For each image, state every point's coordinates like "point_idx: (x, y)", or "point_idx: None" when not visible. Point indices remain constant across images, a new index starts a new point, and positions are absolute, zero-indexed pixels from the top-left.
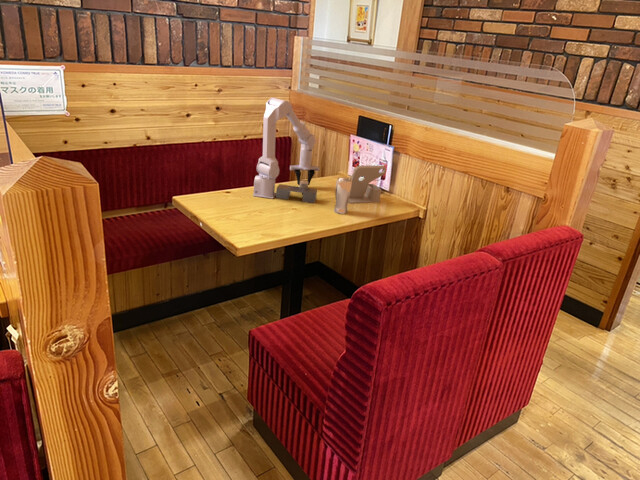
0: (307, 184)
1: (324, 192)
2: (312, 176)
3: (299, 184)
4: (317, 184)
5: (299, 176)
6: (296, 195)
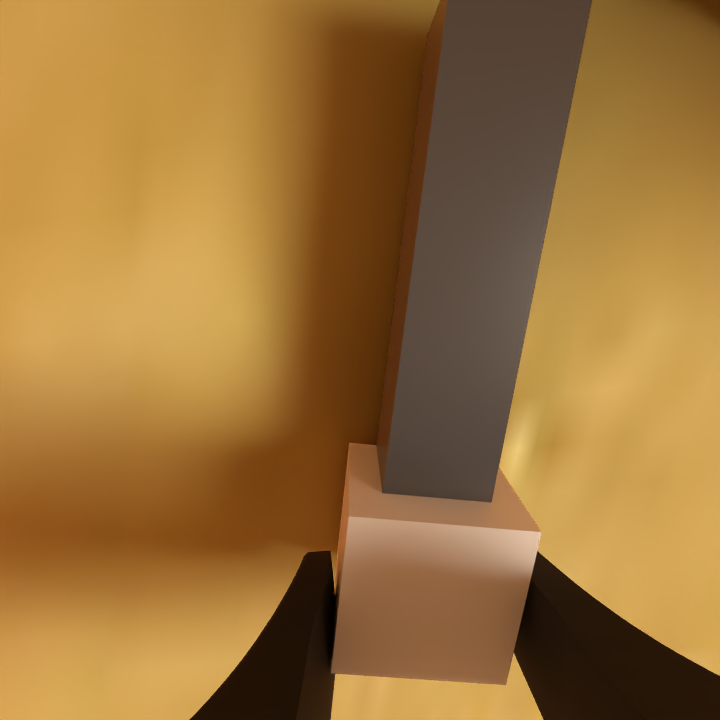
0: (361, 488)
1: (48, 345)
2: (208, 706)
3: None
4: (145, 714)
5: (629, 667)
6: (627, 101)
